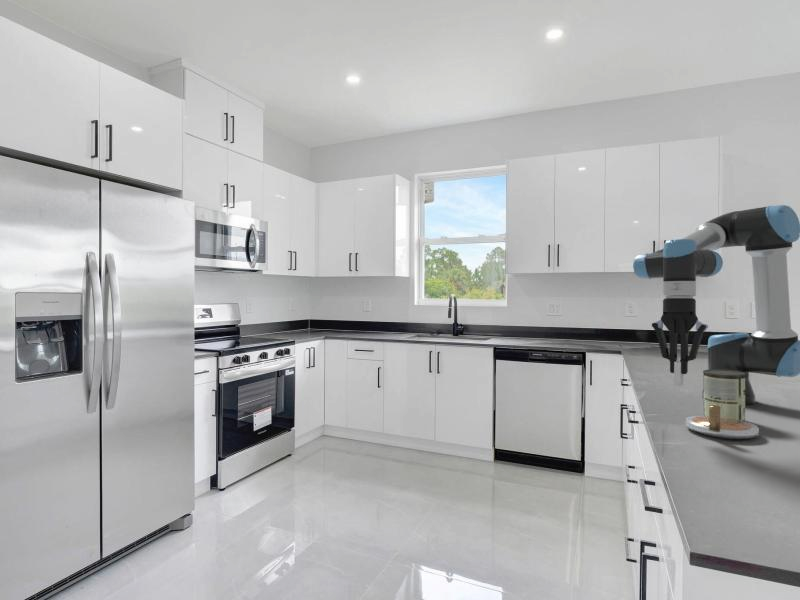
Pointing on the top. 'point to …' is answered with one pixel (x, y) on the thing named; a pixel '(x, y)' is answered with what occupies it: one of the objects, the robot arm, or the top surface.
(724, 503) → the top surface
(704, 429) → the turntable
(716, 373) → the coffee can
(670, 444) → the top surface
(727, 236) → the robot arm
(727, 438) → the turntable base
